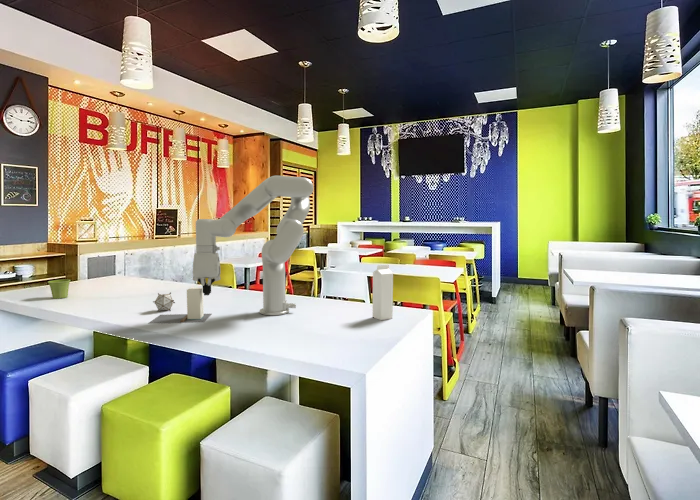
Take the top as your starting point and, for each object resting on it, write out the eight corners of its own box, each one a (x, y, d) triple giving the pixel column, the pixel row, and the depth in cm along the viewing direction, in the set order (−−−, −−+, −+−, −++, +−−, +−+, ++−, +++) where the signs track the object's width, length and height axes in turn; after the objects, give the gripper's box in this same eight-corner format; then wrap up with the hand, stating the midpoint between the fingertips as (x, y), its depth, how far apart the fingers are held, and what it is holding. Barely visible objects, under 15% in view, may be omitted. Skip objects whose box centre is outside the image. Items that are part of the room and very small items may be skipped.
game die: (166, 320, 173) (164, 305, 166) (150, 312, 174) (147, 297, 168) (180, 306, 180) (178, 291, 173) (164, 299, 181) (162, 284, 175)
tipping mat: (212, 314, 169) (212, 311, 169) (204, 322, 155) (204, 320, 155) (160, 315, 166) (160, 312, 166) (147, 324, 152) (147, 321, 152)
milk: (392, 318, 163) (393, 265, 162) (380, 320, 160) (381, 266, 158) (383, 315, 169) (384, 263, 167) (371, 317, 165) (372, 264, 163)
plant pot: (44, 299, 196) (43, 282, 195) (56, 296, 206) (55, 279, 205) (64, 299, 197) (63, 282, 196) (75, 295, 206) (74, 279, 206)
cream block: (203, 316, 164) (202, 287, 163) (200, 319, 159) (199, 289, 158) (191, 316, 163) (190, 287, 162) (187, 319, 158) (186, 289, 157)
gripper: (227, 249, 164) (227, 292, 166) (189, 249, 162) (190, 293, 164) (223, 250, 157) (224, 296, 158) (184, 250, 155) (185, 296, 156)
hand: (207, 294), depth 161 cm, fingers closed
